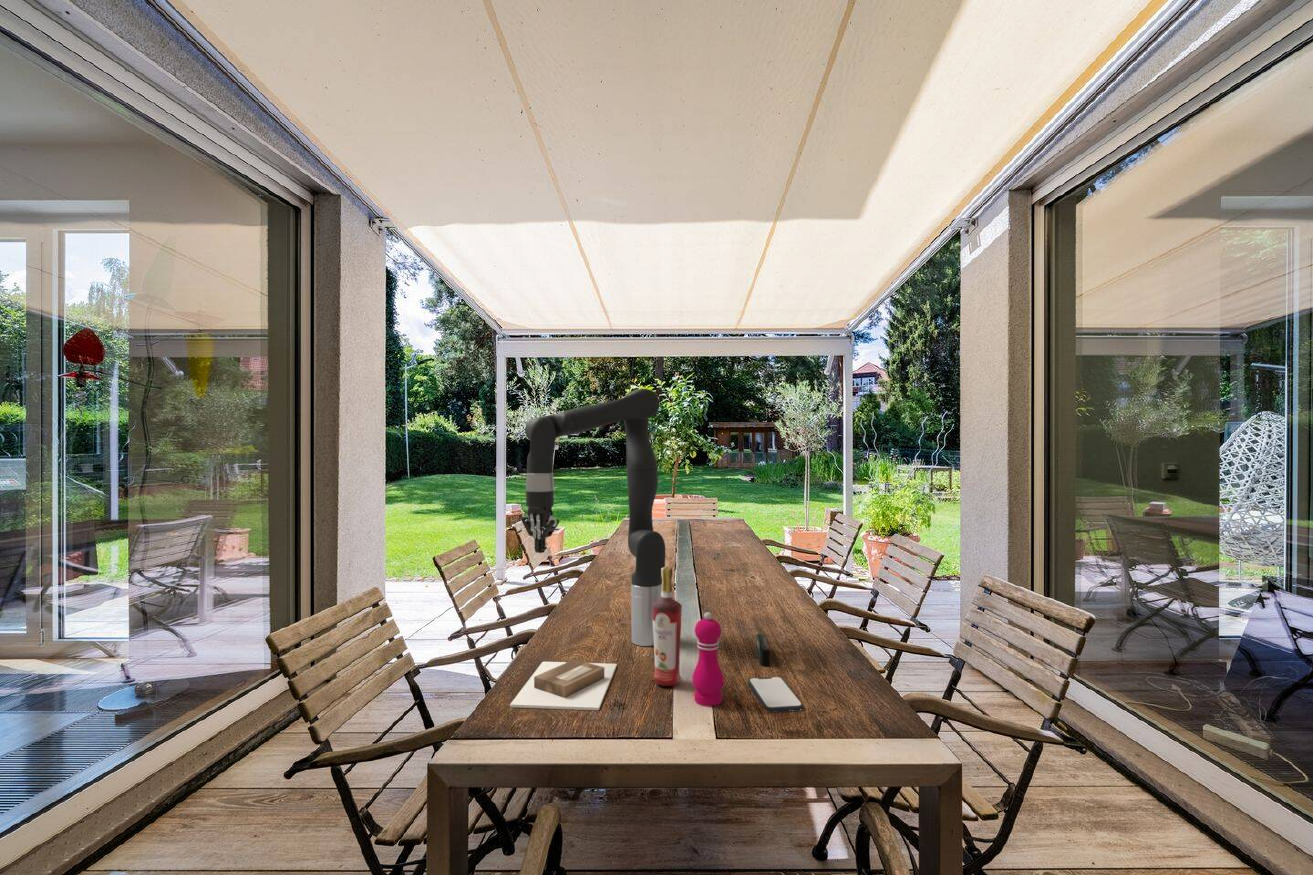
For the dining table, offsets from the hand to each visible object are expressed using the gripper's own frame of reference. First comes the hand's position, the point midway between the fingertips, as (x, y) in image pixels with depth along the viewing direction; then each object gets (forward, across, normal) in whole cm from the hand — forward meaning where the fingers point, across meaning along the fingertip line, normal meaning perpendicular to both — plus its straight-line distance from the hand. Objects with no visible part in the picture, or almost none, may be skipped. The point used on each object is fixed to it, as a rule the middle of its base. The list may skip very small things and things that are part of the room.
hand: (539, 552), depth 159 cm
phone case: (+30, -63, -14) cm, 71 cm away
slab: (+27, -14, +9) cm, 32 cm away
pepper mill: (+29, -51, -3) cm, 59 cm away
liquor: (+29, -38, -6) cm, 48 cm away
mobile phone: (+29, -50, -36) cm, 68 cm away
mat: (+29, -19, +9) cm, 36 cm away
